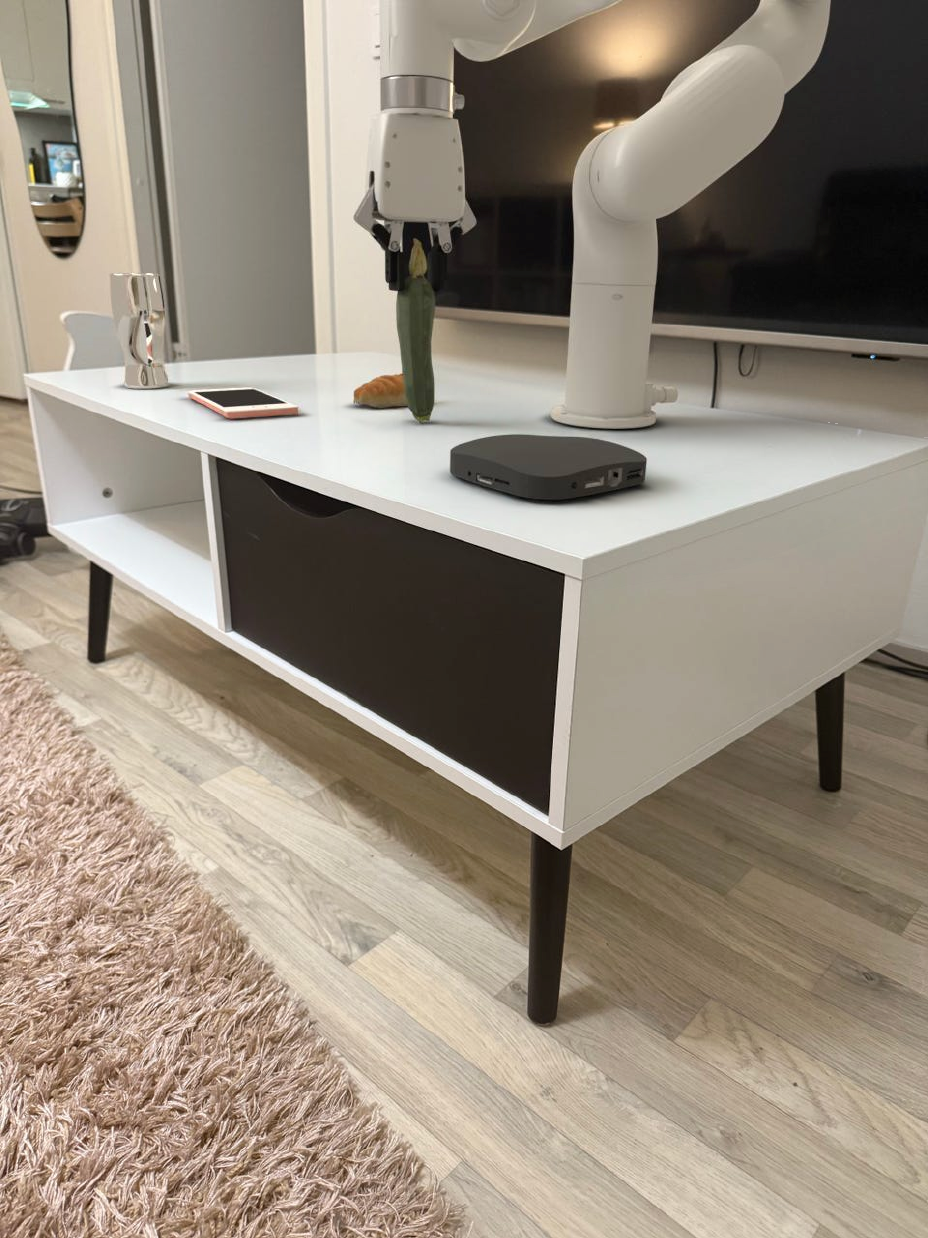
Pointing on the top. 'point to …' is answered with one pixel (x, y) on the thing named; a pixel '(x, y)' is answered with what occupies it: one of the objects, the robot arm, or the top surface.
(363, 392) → the pastry
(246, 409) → the cell phone
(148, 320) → the silver vase
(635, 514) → the top surface
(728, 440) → the top surface
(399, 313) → the vegetable
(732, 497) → the top surface
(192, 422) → the top surface
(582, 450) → the media streaming box
